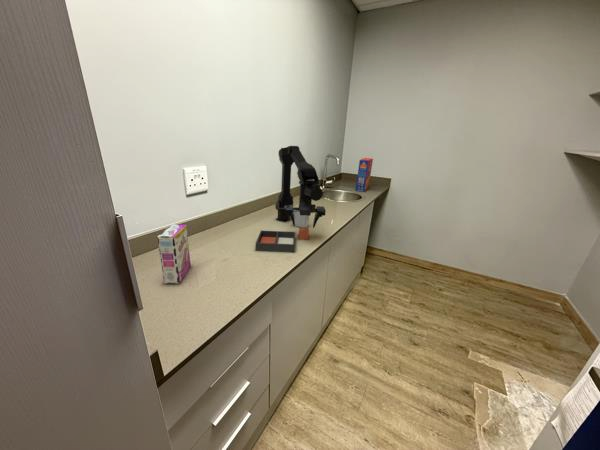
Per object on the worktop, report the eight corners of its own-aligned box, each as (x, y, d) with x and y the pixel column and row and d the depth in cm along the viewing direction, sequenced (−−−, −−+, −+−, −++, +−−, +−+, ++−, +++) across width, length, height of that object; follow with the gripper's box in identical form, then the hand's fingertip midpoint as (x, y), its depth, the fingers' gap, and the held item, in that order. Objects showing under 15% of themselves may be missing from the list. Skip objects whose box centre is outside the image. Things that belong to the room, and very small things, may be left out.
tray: (255, 250, 101) (255, 243, 100) (260, 237, 115) (260, 230, 113) (294, 252, 102) (294, 244, 100) (294, 238, 115) (295, 232, 114)
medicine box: (308, 225, 132) (309, 210, 129) (306, 228, 129) (307, 212, 125) (295, 223, 135) (295, 208, 132) (292, 225, 131) (292, 210, 128)
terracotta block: (298, 239, 115) (299, 230, 113) (298, 235, 119) (299, 226, 117) (308, 239, 115) (308, 230, 113) (307, 235, 119) (308, 227, 117)
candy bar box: (180, 284, 77) (173, 237, 71) (163, 284, 76) (155, 236, 71) (192, 266, 87) (186, 223, 82) (177, 266, 87) (171, 223, 81)
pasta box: (364, 192, 222) (368, 160, 212) (355, 190, 225) (359, 160, 215) (368, 186, 246) (372, 158, 236) (360, 185, 249) (364, 158, 239)
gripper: (284, 198, 102) (283, 232, 107) (328, 200, 102) (325, 234, 108) (285, 192, 112) (284, 224, 118) (325, 194, 113) (322, 225, 118)
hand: (303, 227), depth 115 cm, fingers open, 9 cm apart
